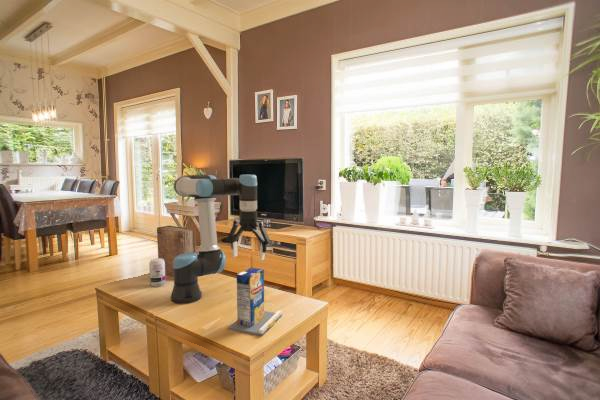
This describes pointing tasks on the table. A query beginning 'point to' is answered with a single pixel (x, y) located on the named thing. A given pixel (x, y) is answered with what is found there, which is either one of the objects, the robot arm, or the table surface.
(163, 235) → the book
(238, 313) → the beverage box
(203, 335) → the table surface
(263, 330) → the grey slab
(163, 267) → the supplement can
